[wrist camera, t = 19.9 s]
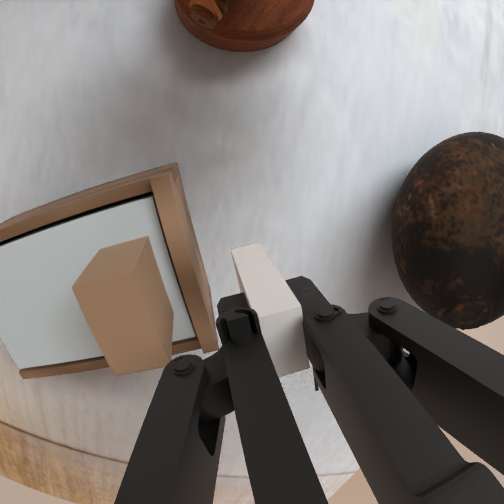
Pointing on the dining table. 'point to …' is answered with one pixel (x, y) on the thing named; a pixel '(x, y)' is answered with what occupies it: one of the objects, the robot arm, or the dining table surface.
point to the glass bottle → (454, 230)
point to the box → (177, 236)
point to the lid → (94, 291)
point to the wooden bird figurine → (242, 21)
